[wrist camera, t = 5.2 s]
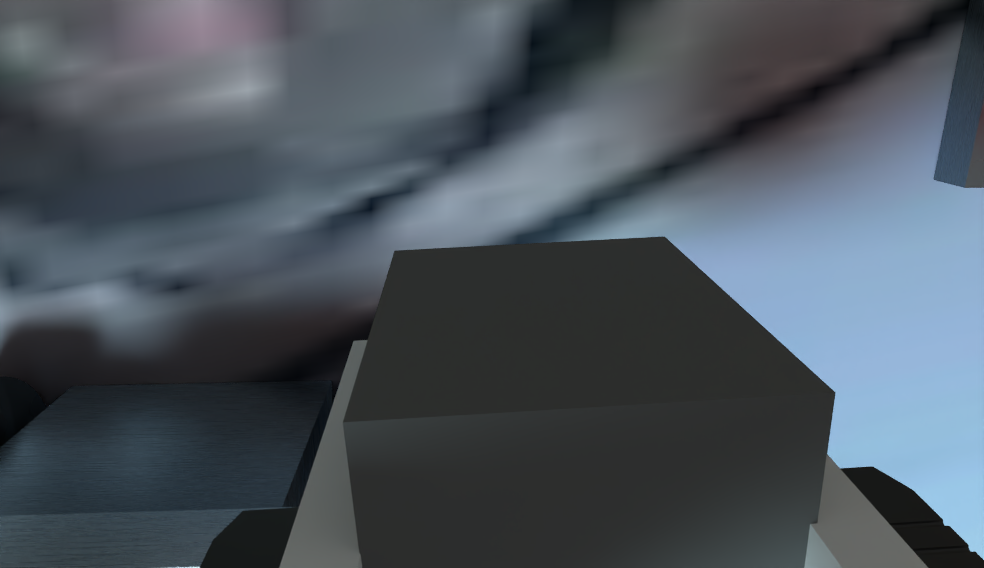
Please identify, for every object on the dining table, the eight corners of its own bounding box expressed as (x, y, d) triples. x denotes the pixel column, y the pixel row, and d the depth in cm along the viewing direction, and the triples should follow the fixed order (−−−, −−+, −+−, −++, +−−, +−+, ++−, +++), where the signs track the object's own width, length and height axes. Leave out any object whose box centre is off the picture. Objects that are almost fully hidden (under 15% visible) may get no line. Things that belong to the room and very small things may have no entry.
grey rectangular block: (394, 250, 11) (342, 422, 6) (664, 236, 12) (835, 392, 6) (421, 547, 13) (399, 869, 8) (651, 532, 13) (773, 837, 8)
